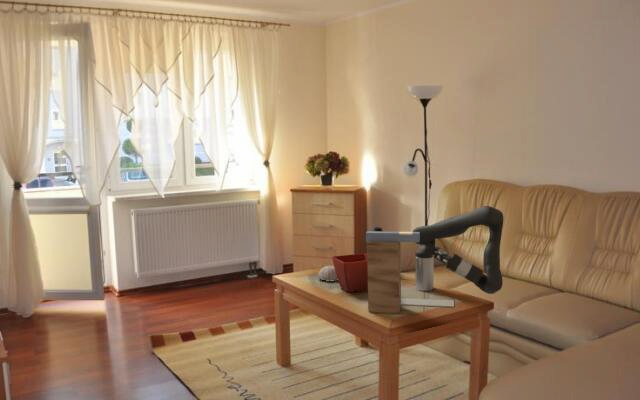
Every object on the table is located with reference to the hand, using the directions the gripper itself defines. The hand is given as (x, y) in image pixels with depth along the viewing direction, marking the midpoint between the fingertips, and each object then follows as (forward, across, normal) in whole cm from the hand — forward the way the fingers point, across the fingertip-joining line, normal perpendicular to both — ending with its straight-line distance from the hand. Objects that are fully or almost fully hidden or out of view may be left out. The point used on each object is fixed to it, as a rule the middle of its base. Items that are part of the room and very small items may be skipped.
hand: (426, 246), depth 247 cm
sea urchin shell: (+34, -52, +55) cm, 83 cm away
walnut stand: (+2, 0, +35) cm, 35 cm away
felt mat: (-14, -13, +26) cm, 32 cm away
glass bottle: (+12, -68, +42) cm, 81 cm away
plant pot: (+19, -34, +46) cm, 60 cm away
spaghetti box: (+14, 0, +6) cm, 15 cm away
